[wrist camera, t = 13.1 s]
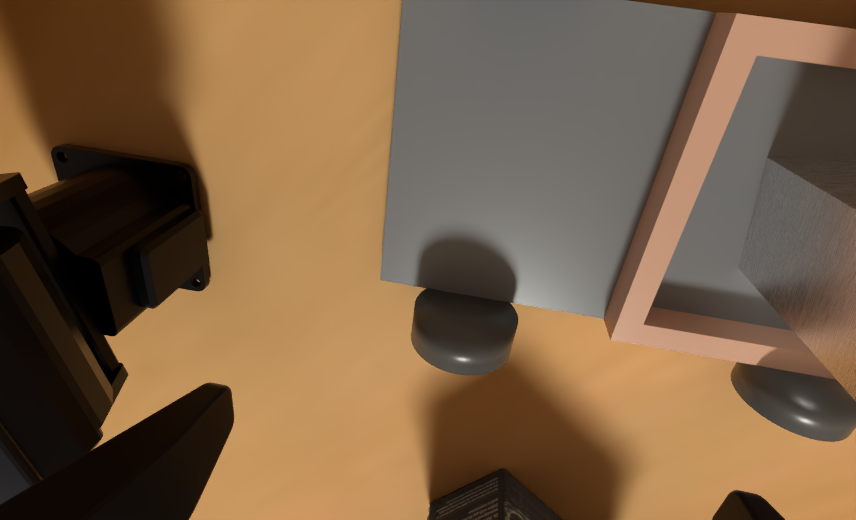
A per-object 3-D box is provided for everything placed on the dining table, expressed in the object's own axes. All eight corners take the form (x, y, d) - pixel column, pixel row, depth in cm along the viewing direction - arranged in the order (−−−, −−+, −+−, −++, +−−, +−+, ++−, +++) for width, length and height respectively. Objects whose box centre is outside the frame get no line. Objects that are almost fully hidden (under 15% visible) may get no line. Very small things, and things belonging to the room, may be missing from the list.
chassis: (382, 297, 23) (359, 356, 19) (414, -84, 16) (387, -112, 12) (853, 379, 22) (928, 460, 18) (1130, 5, 14) (1360, 7, 11)
